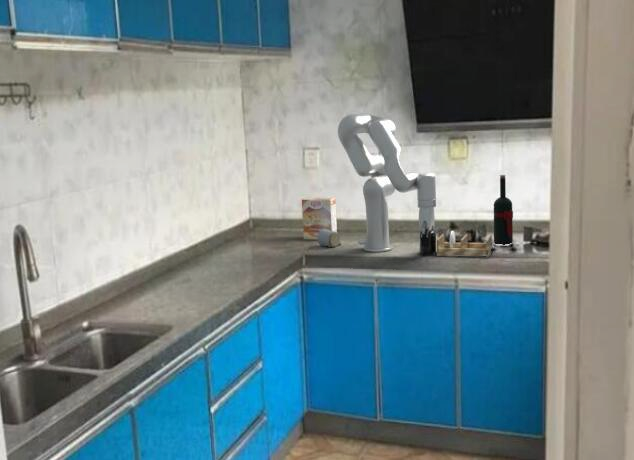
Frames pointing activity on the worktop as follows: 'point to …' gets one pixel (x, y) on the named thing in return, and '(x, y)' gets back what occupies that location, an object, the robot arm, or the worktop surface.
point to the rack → (464, 247)
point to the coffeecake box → (318, 216)
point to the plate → (452, 239)
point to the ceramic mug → (328, 238)
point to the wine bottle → (503, 217)
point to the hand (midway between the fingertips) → (427, 243)
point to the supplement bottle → (432, 243)
